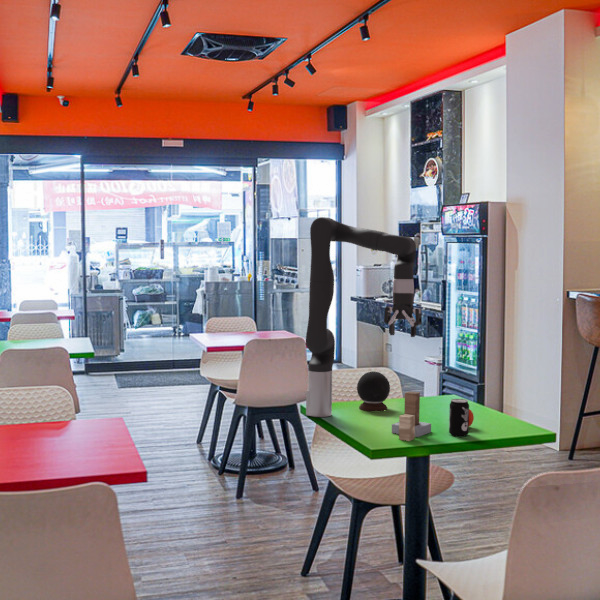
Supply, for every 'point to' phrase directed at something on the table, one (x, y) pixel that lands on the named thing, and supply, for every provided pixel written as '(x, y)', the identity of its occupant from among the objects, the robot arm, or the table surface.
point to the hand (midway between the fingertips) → (402, 336)
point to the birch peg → (406, 427)
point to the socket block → (419, 429)
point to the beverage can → (459, 417)
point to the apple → (470, 417)
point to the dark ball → (373, 391)
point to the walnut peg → (412, 405)
